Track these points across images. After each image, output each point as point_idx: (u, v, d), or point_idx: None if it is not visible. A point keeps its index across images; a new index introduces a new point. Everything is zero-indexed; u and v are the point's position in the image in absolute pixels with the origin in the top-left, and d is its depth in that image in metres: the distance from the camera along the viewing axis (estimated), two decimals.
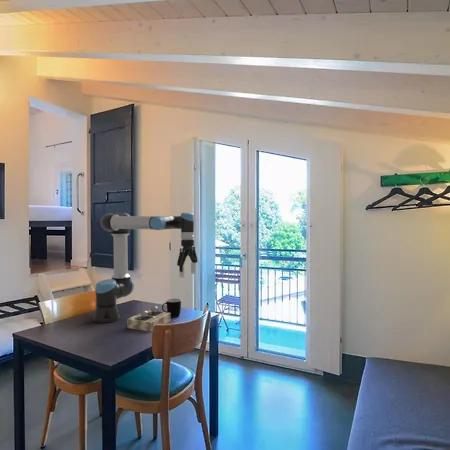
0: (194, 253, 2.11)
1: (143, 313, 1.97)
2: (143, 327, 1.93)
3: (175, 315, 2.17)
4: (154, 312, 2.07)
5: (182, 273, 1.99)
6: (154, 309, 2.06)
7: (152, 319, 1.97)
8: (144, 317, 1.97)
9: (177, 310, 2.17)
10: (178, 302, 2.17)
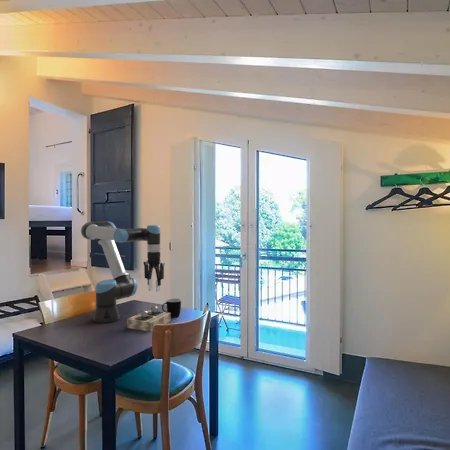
0: (160, 269, 2.05)
1: (143, 313, 1.97)
2: (143, 327, 1.93)
3: (175, 315, 2.17)
4: (154, 312, 2.07)
5: None
6: (154, 309, 2.06)
7: (152, 319, 1.97)
8: (144, 317, 1.97)
9: (177, 310, 2.17)
10: (178, 302, 2.17)
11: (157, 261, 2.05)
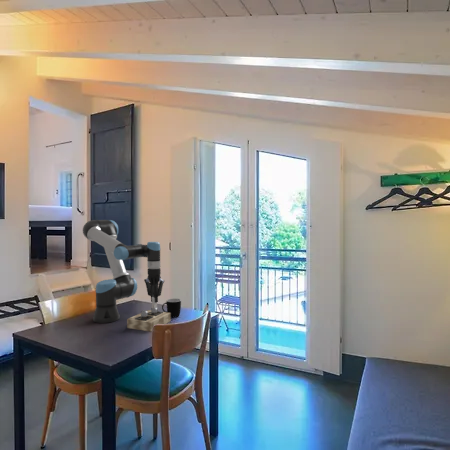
0: None
1: (143, 313, 1.97)
2: (143, 327, 1.93)
3: (175, 315, 2.17)
4: (154, 313, 2.07)
5: None
6: (154, 310, 2.06)
7: (152, 319, 1.97)
8: (144, 317, 1.97)
9: (177, 310, 2.17)
10: (178, 302, 2.17)
11: (157, 278, 2.05)
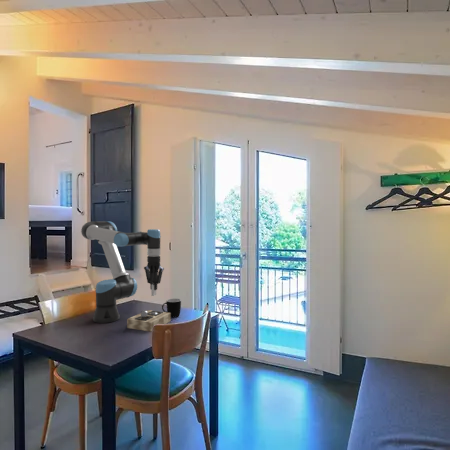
0: (158, 274, 2.05)
1: (143, 313, 1.97)
2: (143, 327, 1.93)
3: (175, 315, 2.17)
4: None
5: None
6: None
7: (152, 319, 1.97)
8: (144, 317, 1.97)
9: (177, 310, 2.17)
10: (178, 302, 2.17)
11: (157, 265, 2.05)
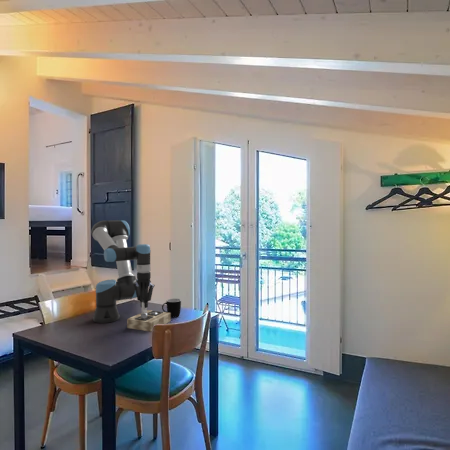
0: None
1: (143, 315, 1.97)
2: (143, 327, 1.93)
3: (175, 315, 2.17)
4: None
5: None
6: None
7: (152, 319, 1.97)
8: None
9: (177, 310, 2.17)
10: (178, 302, 2.17)
11: (147, 282, 1.96)
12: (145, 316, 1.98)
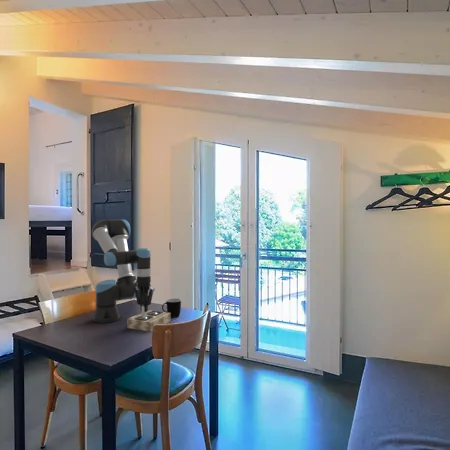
0: None
1: None
2: (143, 327, 1.93)
3: (175, 315, 2.17)
4: None
5: None
6: None
7: (152, 319, 1.97)
8: None
9: (177, 310, 2.17)
10: (178, 302, 2.17)
11: (147, 286, 1.96)
12: None
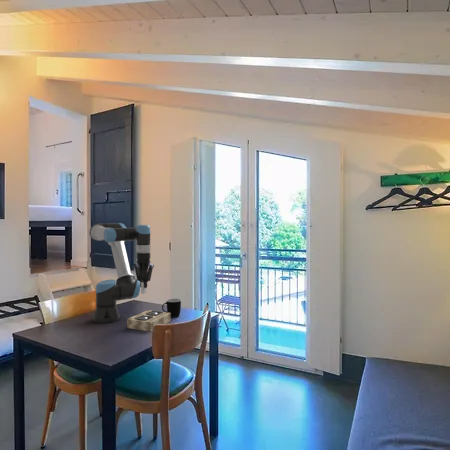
0: (148, 271, 1.98)
1: None
2: (143, 327, 1.93)
3: (175, 315, 2.17)
4: None
5: None
6: None
7: (152, 319, 1.97)
8: None
9: (177, 310, 2.17)
10: (178, 302, 2.17)
11: (147, 262, 1.98)
12: None
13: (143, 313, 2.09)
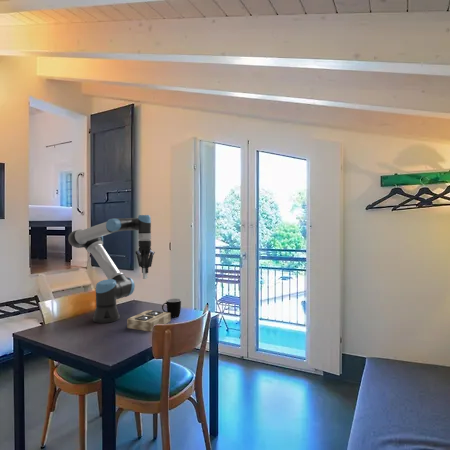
0: (149, 257, 2.13)
1: None
2: (143, 327, 1.93)
3: (175, 315, 2.17)
4: None
5: None
6: None
7: (152, 319, 1.97)
8: None
9: (177, 310, 2.17)
10: (178, 302, 2.17)
11: (148, 249, 2.13)
12: None
13: (143, 313, 2.09)
